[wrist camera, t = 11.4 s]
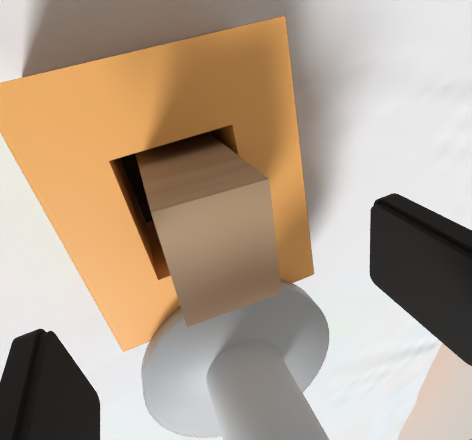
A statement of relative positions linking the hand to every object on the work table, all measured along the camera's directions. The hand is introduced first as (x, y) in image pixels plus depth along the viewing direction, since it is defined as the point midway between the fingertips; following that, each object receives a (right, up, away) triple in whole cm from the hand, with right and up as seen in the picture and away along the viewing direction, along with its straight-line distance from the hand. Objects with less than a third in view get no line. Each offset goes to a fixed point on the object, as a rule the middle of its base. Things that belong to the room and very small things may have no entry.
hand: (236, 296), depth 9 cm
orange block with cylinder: (-3, +1, +15) cm, 16 cm away
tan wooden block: (-4, +6, +13) cm, 15 cm away
